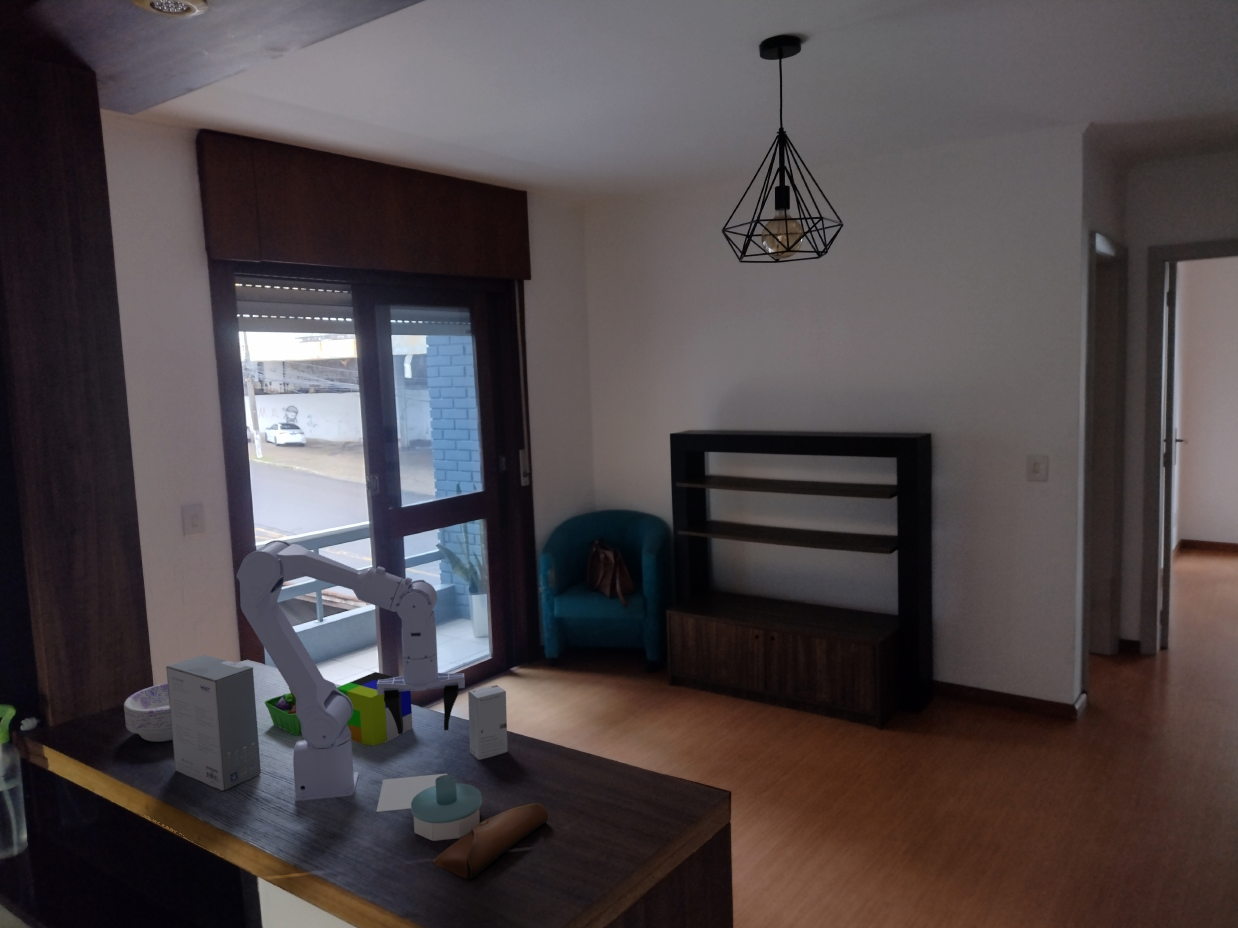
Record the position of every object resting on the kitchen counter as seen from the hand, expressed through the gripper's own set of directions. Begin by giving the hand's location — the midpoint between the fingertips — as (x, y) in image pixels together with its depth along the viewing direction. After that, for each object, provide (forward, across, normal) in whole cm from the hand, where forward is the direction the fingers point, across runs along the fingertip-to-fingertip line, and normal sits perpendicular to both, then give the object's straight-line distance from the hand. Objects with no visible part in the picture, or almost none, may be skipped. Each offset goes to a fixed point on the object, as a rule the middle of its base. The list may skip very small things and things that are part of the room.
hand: (423, 729), depth 148 cm
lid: (+7, +4, -14) cm, 16 cm away
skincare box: (+10, +11, +10) cm, 18 cm away
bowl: (+10, +4, -14) cm, 18 cm away
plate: (+10, -2, -3) cm, 11 cm away
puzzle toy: (+10, -11, +24) cm, 28 cm away
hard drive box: (+10, -38, +12) cm, 41 cm away
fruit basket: (+10, -27, +31) cm, 42 cm away
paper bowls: (+10, -52, +33) cm, 62 cm away
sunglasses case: (+11, +11, -21) cm, 26 cm away
